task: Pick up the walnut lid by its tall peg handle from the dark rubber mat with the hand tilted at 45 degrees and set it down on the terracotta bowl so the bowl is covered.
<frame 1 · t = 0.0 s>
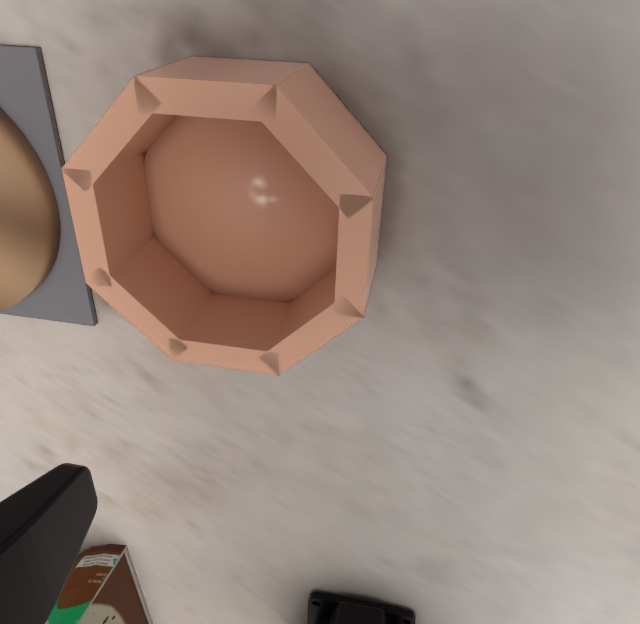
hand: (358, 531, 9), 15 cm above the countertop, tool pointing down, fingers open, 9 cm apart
food container: (102, 580, 39), on the countertop
bowl: (254, 197, 22), on the countertop
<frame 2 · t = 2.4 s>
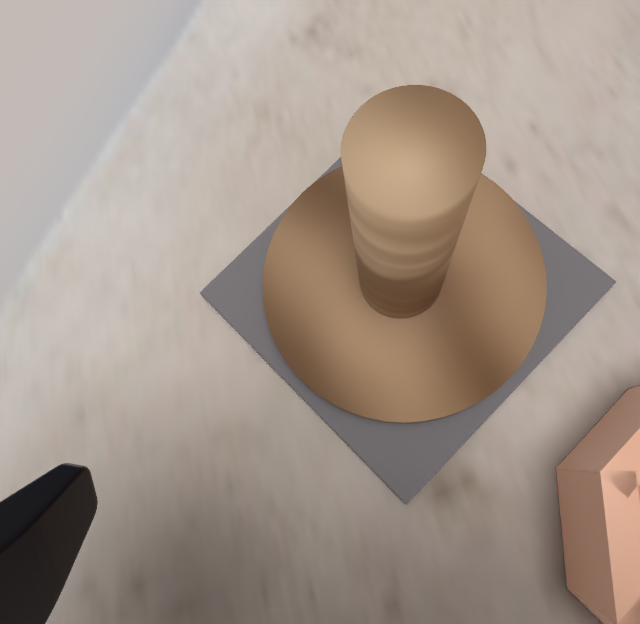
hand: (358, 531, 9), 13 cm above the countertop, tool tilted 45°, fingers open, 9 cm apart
lid: (399, 287, 23), resting on mat
mat: (399, 289, 23), on the countertop
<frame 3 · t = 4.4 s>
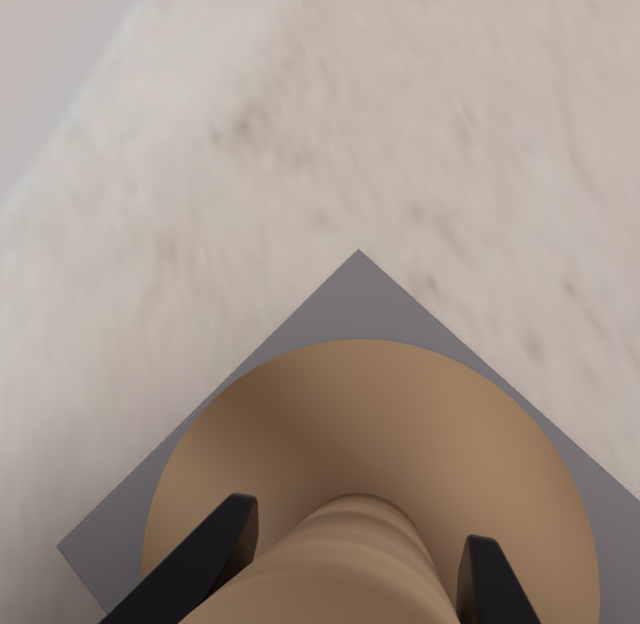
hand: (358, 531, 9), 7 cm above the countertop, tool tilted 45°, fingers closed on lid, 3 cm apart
lid: (362, 554, 15), resting on mat, touching gripper
mat: (362, 552, 15), on the countertop
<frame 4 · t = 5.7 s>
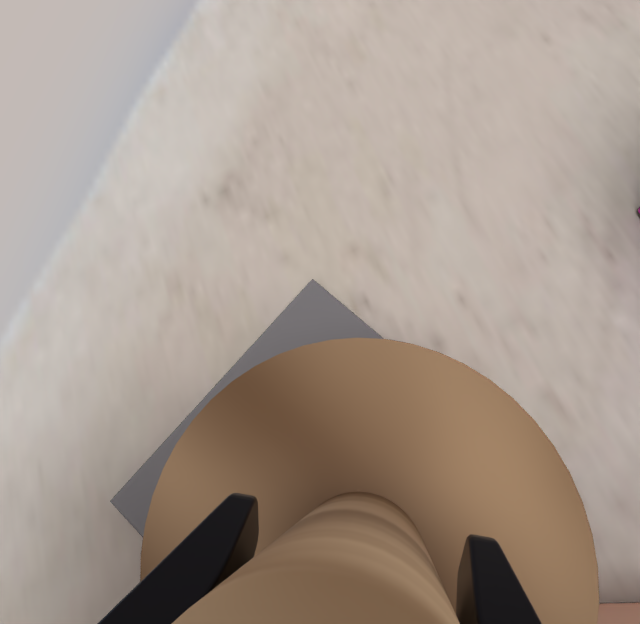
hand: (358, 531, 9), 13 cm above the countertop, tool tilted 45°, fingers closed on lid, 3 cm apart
lid: (361, 552, 15), point 7 cm above the countertop, touching gripper
mat: (323, 491, 22), on the countertop
when the fingers open (12 cm above the countertop, at t = 7.1 s): lid drops 1 cm, resting on bowl.
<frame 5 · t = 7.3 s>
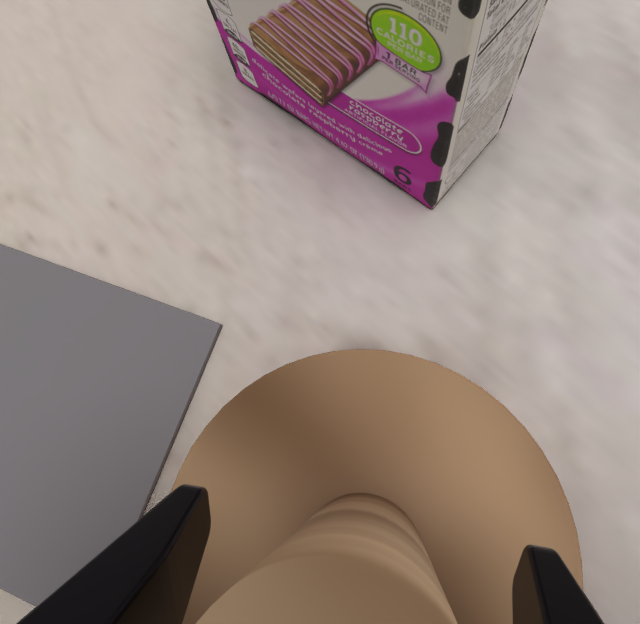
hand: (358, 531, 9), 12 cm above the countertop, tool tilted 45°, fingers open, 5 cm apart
lid: (363, 549, 16), point 4 cm above the countertop, touching bowl
mat: (30, 414, 23), on the countertop
candy bar box: (362, 110, 25), on the countertop
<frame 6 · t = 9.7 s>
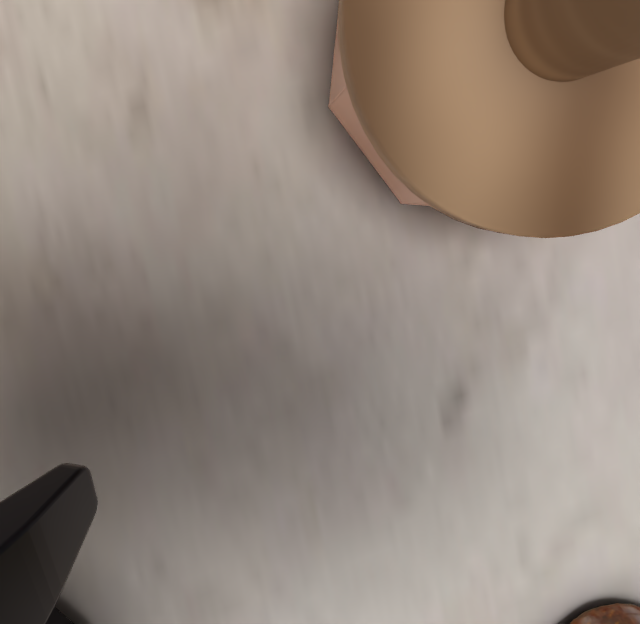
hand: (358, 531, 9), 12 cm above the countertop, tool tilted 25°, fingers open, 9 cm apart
lid: (541, 26, 15), point 4 cm above the countertop, touching bowl
bowl: (478, 62, 19), on the countertop
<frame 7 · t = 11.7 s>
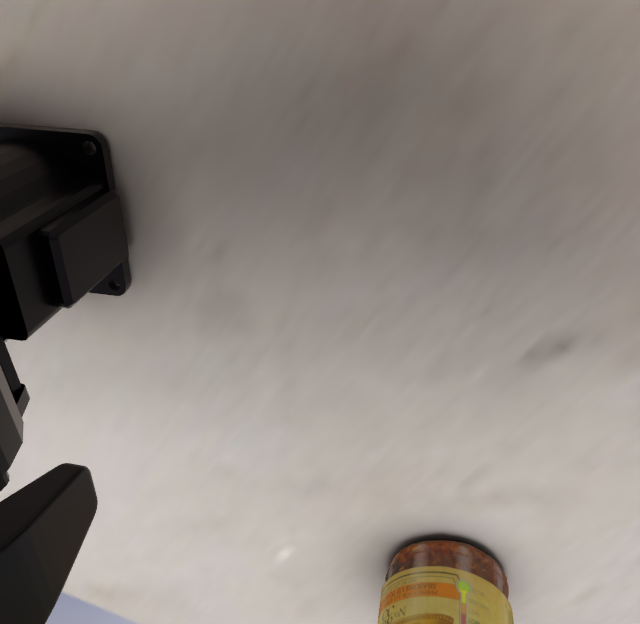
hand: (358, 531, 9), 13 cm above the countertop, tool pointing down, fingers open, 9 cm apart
sauce bottle: (442, 569, 29), on the countertop
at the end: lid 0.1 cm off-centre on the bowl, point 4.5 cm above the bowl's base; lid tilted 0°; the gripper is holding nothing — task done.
